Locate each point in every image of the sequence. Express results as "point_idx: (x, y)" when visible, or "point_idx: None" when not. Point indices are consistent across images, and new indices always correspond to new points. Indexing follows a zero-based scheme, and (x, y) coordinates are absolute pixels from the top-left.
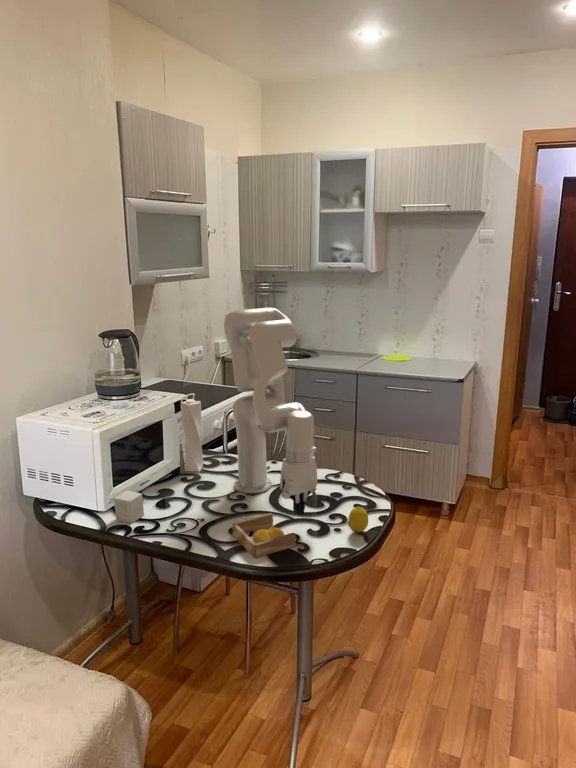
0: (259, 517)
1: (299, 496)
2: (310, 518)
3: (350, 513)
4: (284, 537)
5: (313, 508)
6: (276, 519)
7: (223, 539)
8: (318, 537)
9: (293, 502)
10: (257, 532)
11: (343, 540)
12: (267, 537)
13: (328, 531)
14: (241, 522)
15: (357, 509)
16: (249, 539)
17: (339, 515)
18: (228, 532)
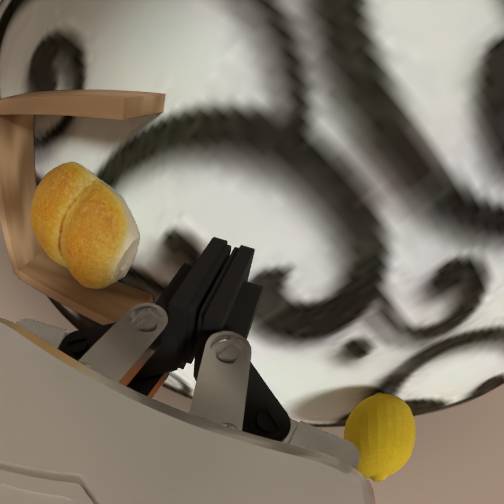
0: (59, 113)
1: (201, 358)
2: (375, 204)
3: (360, 451)
4: (89, 317)
5: (477, 143)
6: (219, 67)
7: None
8: (256, 332)
9: (157, 303)
10: (32, 211)
11: (303, 388)
12: (53, 257)
13: (322, 335)
14: (6, 113)
15: (367, 476)
16: (6, 239)
17: (472, 291)
18: (27, 68)
